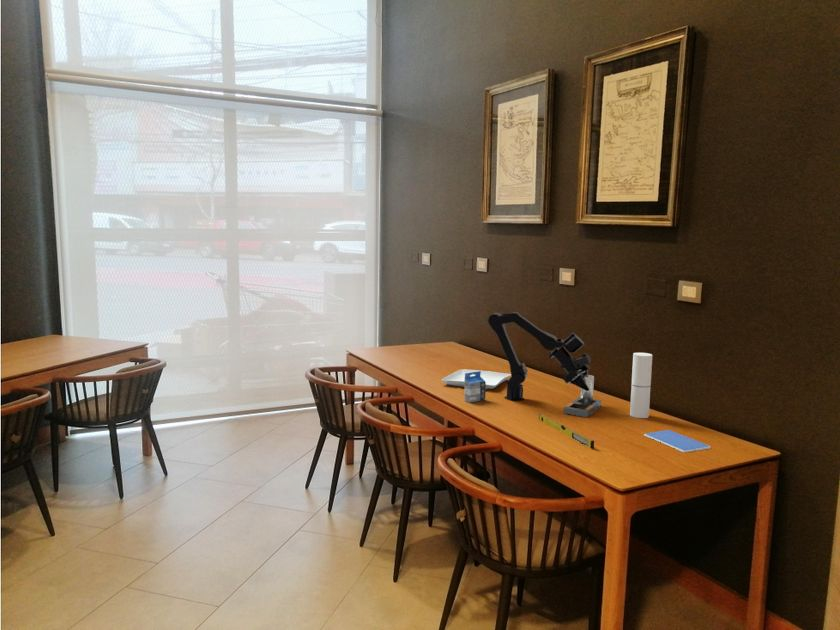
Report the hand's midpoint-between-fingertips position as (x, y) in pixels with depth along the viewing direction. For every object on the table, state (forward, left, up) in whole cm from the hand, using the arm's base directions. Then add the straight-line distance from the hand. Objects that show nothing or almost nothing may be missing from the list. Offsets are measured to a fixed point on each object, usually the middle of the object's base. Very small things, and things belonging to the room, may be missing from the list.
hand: (590, 389), depth 258 cm
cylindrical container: (+9, -18, -8) cm, 22 cm away
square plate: (-16, +58, -9) cm, 61 cm away
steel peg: (-1, +1, -7) cm, 7 cm away
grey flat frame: (-5, -1, -8) cm, 9 cm away
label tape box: (-36, +32, -8) cm, 49 cm away
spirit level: (-33, -20, -8) cm, 40 cm away
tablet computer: (-5, -46, -9) cm, 47 cm away
